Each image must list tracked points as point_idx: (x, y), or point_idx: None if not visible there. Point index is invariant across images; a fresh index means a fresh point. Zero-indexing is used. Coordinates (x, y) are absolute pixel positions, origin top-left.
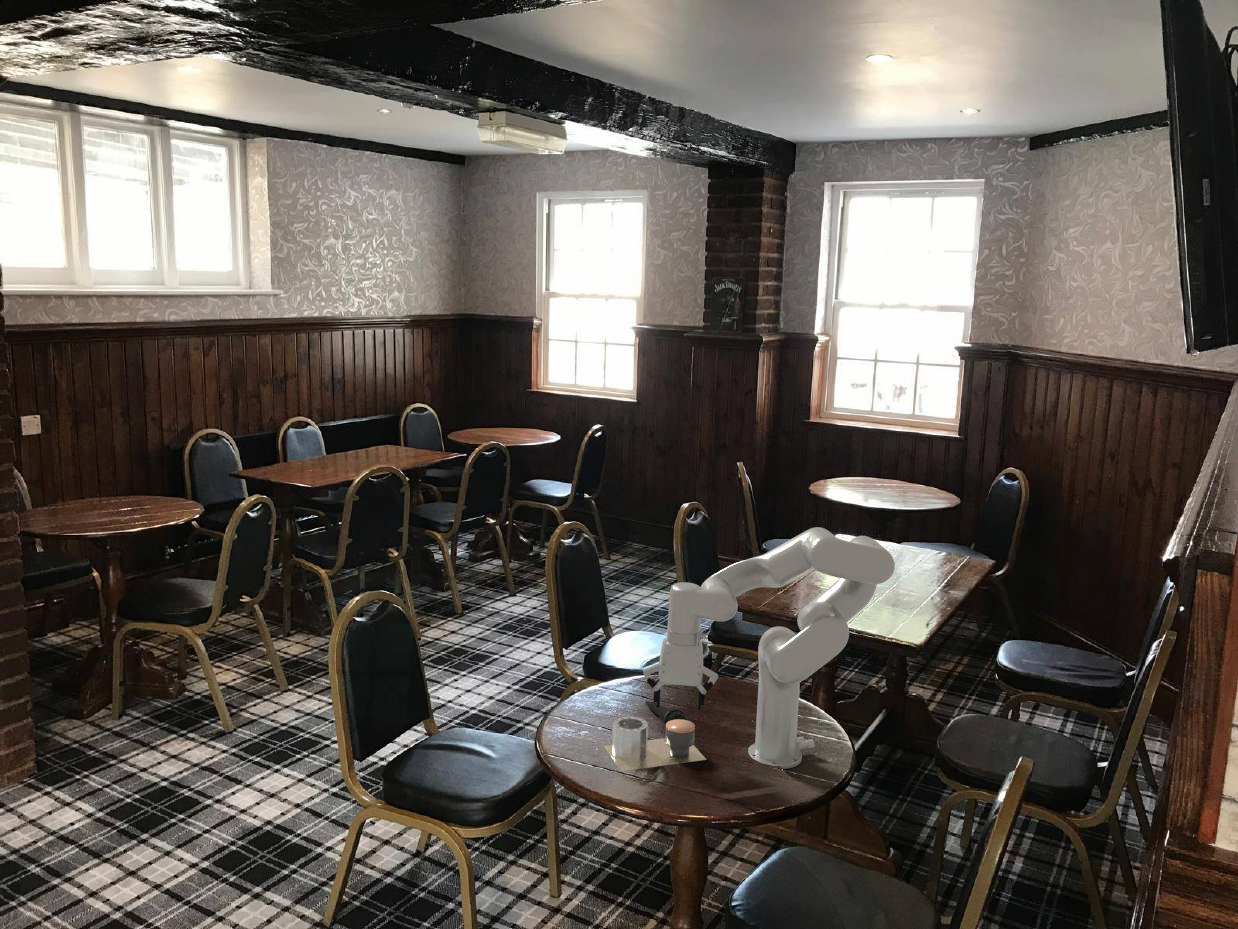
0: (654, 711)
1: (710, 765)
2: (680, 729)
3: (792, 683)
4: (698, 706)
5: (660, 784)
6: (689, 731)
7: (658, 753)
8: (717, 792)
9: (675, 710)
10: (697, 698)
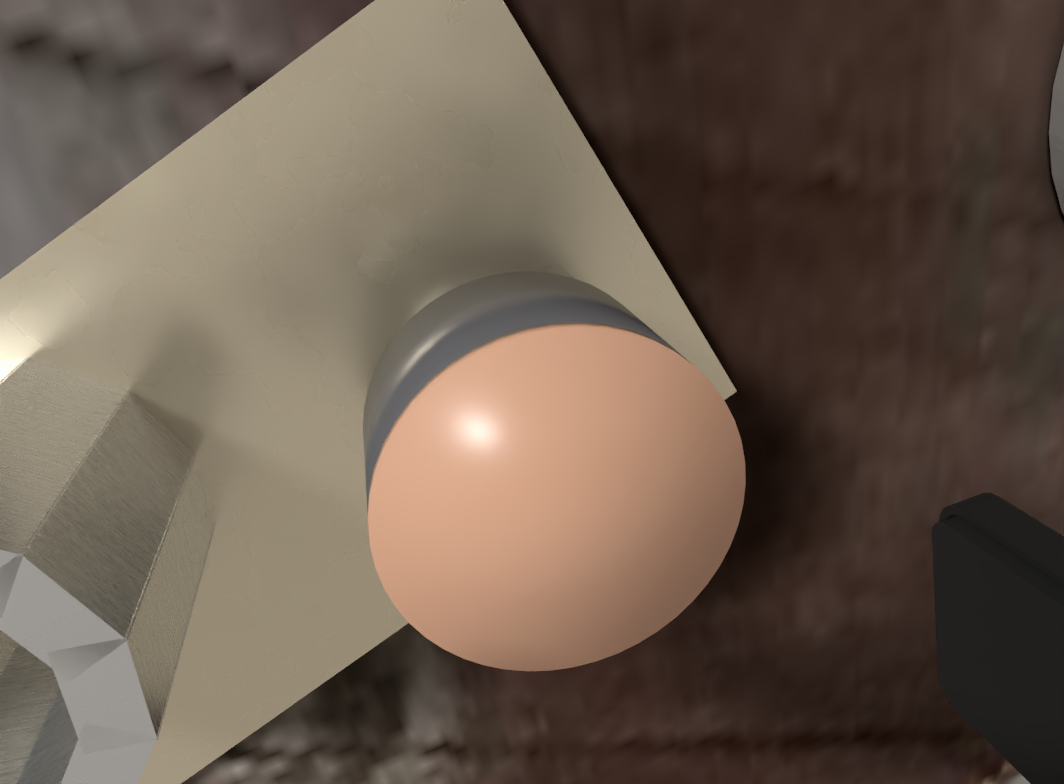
0: None
1: (753, 391)
2: (586, 606)
3: None
4: (996, 736)
5: (455, 767)
6: (693, 597)
7: (312, 446)
8: (813, 698)
9: None
10: (1043, 613)
